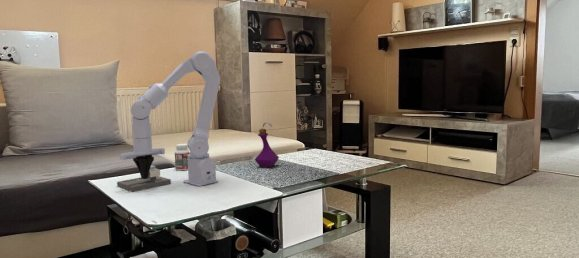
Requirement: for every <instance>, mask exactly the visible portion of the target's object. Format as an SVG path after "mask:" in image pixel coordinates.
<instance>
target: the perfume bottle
mask: <svg viewBox="0 0 579 258" xmlns="http://www.w3.org/2000/svg"><path fill="white" fill-rule="evenodd" d="M266 124H268V125H269V126H270V127H272V126H273V125H272V123H271V122H270V121H266V122H264V123H263V124H262V127H264V126H265V125H266ZM258 132H259V133H258V134H257V136H258V137H260V139H261V141H262V150H261V151H260V153H258V154H257V156H256V157H255V158H254V161H255V162H256V163H257V164H258V166H259V167H260V168H270V169H271V168H272V167H274V166H275V165H276V164H277V162H278V160H279V159H280V157H279V155H278V154H277V153H275V151H274V150H273V149H272V147H271V146H270V143H269V141H268V139H267V137H268V136H269V134H268V133H267V129H265V128H260V129H258Z"/></svg>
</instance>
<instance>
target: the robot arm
mask: <svg viewBox="0 0 579 258" xmlns="http://www.w3.org/2000/svg"><path fill="white" fill-rule="evenodd" d="M195 71H196V72H197V73H198V74H200V76H201V78H202V80H203V81H204V82H205V83H204V87H203V91H202V96H201V100H200V104H199V109H198V112H197V117H196V122H195V127H194V128H193V130H192V135H191V136H190V138H189V139H188V141H187V144H188V148H187V149H188V150H189V152H190V154H189V155H188V170H187V171H188V173H187V174H188V175H187V176H188V179H183V183H186V184H190V185H193V186H197V187H202V186H205V185H210V184H215V183H218V182H219V180H218V179H217V175H216V173H217V172H216V162H215V160H213V159H212V158H211V157H210V153H209V150H210V146H209V132H210V127H211V123H212V119H213V115H214V109H215V106H216V101H217V97H218V92H219V89H220V84H221V75H220V73H219V71H218V68H217V65H216V60H215V59H214V58H213V57H212V55H211V54H210V53H208V52H207V51H205V50H199V51H197V52H195V53H194V54H193V55H191V56H190V57H189V58H187V59H186V60H184V61H182V62H181V63H180V64H179V65H178V66H177V67H176V68H175V69H174V70H173V71H171V73H170V74H169V75H168V76H167V77H166V78H165V79H164V80H163V81H162V82H161V83H158V82H157V83H154V84H150V85H149V86H148V89H147V90H146V91H145V92H144V93H143V94H142V95H139V96H138V97H137V99H138V100H136V101H134V103H133V104H132V105H131V107H130V112H131V113H130V114H131V116H132V117H131V121H132V124H131V129H132V144H133V146H132V147H133V150H132V151H127V152H122V153H120V154H119V155H120V160H121V161H127V160H132V162H134V163H135V166H136V167H137V170H138V172H139V174H140V177H141V178H142V179H148V174H149V170H150V167H151V165H152V164H153V162H154V160H155V157H154V156H158V155H165V148H164V147H160V148H159V147H157V148H153V141H152V140H153V139H152V123H151V121H150V114H151V110H155V109H156V108H157V107H158V106H159V105H160V104H161V103H162V102H163V101H165V100H166V98H168V97H169V90H170V89H171V88H172V87H173V86H174V85H175V84H177V83H178V81H180V80H181V79H182V78H183V77H184V76H185V75H188V74H190V73H194V72H195Z"/></svg>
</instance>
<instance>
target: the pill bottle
mask: <svg viewBox="0 0 579 258" xmlns="http://www.w3.org/2000/svg"><path fill="white" fill-rule="evenodd" d="M175 148H176V149H175V151H174V166H175V168H174V169H175V170H176V171H178V170H179V171H180V172H181V171H182V170H184V171H188V155H189V154H190V150H189V148H188V143H179V144H178V143H177V144H176V145H175ZM179 171H178V172H179ZM182 172H183V171H182Z"/></svg>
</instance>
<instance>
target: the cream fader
mask: <svg viewBox="0 0 579 258" xmlns="http://www.w3.org/2000/svg"><path fill="white" fill-rule="evenodd" d="M156 176H160V177H161V169H158V168H156V169H151V170H149V174H148V177H150V179H151V180H155V179H156Z"/></svg>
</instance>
